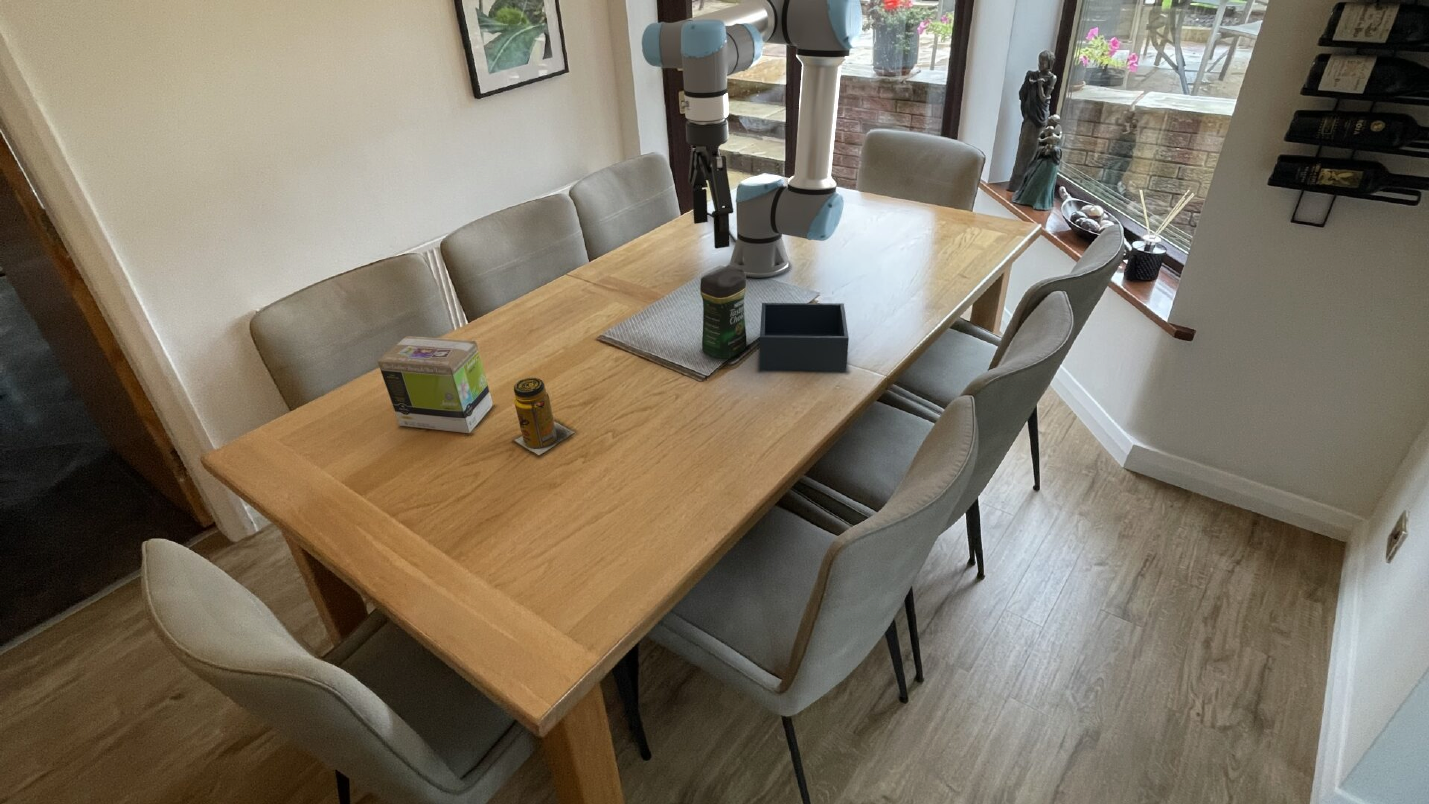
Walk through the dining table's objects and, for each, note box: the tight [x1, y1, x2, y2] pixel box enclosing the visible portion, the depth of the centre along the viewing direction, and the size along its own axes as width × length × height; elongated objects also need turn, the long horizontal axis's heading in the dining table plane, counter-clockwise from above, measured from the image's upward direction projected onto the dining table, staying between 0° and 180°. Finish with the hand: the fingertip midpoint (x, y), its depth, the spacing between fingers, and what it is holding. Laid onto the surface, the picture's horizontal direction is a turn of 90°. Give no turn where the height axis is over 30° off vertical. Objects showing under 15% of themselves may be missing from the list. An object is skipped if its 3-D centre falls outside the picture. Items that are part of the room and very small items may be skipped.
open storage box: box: [759, 302, 850, 373], centre depth 153 cm, size 15×18×8 cm
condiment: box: [513, 377, 575, 456], centre depth 130 cm, size 7×8×12 cm
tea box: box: [377, 335, 493, 434], centre depth 136 cm, size 15×10×15 cm, turn 77°
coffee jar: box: [699, 264, 748, 361], centre depth 152 cm, size 10×8×19 cm
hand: (711, 234), depth 140 cm, fingers open, 13 cm apart
